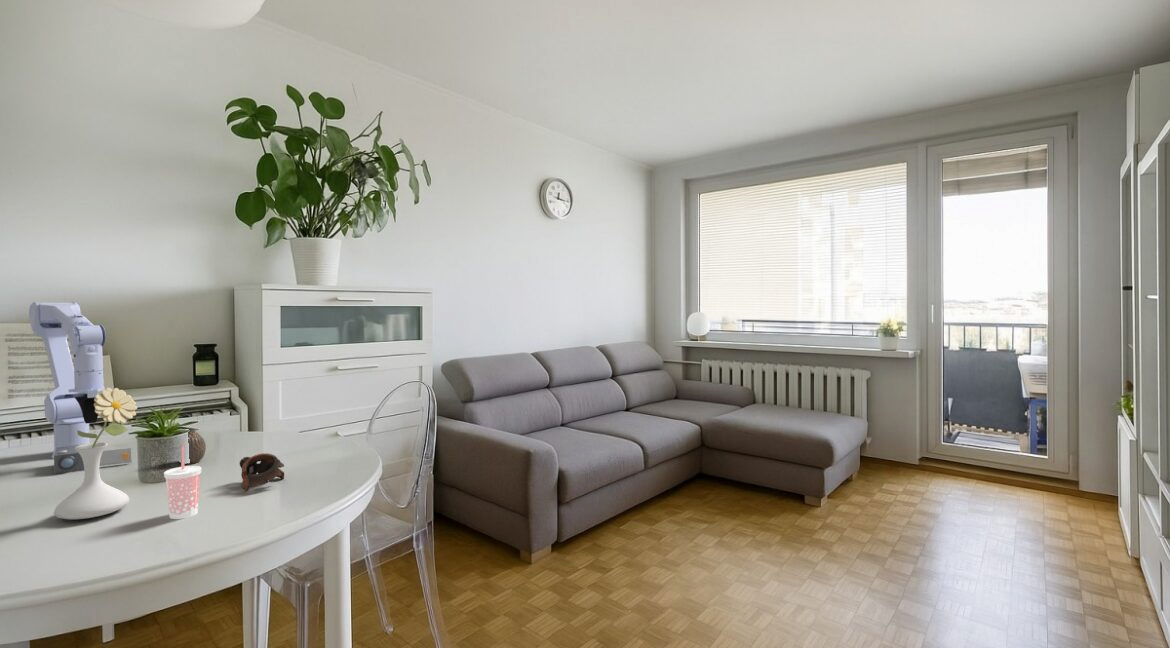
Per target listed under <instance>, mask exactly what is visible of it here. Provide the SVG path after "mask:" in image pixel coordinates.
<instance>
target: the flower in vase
mask: <svg viewBox="0 0 1170 648" xmlns="http://www.w3.org/2000/svg"><path fill="white" fill-rule="evenodd" d="M102 394H103V395H102ZM132 397H133V396H131V395H130V394H127V392H126V391H125V390H124V389H120V388H118V387H115V388H110V387H105V390H102V391H101V393H98V394H97V395H96V396H95V398H94V401H95V402H96V403H94V406H95V413H97V414H98V417H99V418H102V419H103V421H104V424H103V427H102V428H101V430H100V432H99V433H98V434H96V433H90V432H89V433H85V432H81V431H79V430H77V433H78V435H79V436H81V437H86V438H90V439H95V440H94V441H93V442H92V443H91V442H90V444H84V445H79V446H76V447H75V450H76V451H78V452H79V454H80V455H81V457H82V460H83V463H84V470H83V471H84V478H83V481H82V484H81V485H80V486H79V487H78V488H77V489H76V490H75V491H73V492H72V493H71V494H69V495H68V496H67V497H65V498H64V499H63V500H62V501H61V502H59V504H58V505H56V507H55V508H54V511H53V515H54V516H55V517H56V518H58V519H62V520H85V519H91V518H97V517H102V516H104V515H108V514H111V513H114V512H116V511H119V510H120V509H122V508H125V507H126V506H127V505H128V504H129V502H130V497H129V496H128V494H127V493H125V492H123V491H122V490H120V489H118V488H115V487H113V486H112V485H109V484H107V483H105V482H104V481H103V480H102V478H101V475H100V474H101V473H100V466H99V465H100V458H101V455H102V452H103V450H106V447H107V446H109V445H108V443H107V442H98V441H99V439H100V437H101V436H102V434H103V432H104V431H105V432H106V433H107V434H108V435H110V436H113V437H116V436H118V435H122V434H124V433H126V432H127V431H128V430H129V429H128V428H127V427H126V426H124V425H123V424H126V423H127V422H128V419H129V420H131V419H133V417H135V416H137V413H136V411H137V410H138V406H137V403H136V401H135V400H134V399H133V398H132ZM108 422H109V423H111V424H109V425H108V426H107V423H108Z"/></svg>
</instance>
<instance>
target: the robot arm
mask: <svg viewBox="0 0 1170 648" xmlns="http://www.w3.org/2000/svg"><path fill="white" fill-rule="evenodd" d="M28 310H29V311H28V316H29V317H28V318H29V322H30V326H31V330H32V332H33V334H34V335H35V336H37V337H41V339H42V341H43V345H44V347H45V352H46V355H47V359H48V365H49V367H50V372H51V373H50V374H51V376H52V381H53V386H54V389H53V390H52V391H50V392H49V393H48V394H47V395H46V396H45V399H44V401H43V405H44V416H45V419H46V421H47V422H49V423H50V424H53V440H54V441H53V445H54V446H53V447H54V448H53V449H54V450H53V452H52V455H51V459H54V454H55V451H56V448H57V447H65V446H74V445H82V444H90V443H91V442H90V439H91V438H86V437H81V436H79V435H78V433H77V430H79V431H81V432H85V433H90V424H95V423H97V421H98V417H99V414H97V413H95V406H94V403H96V402H95V401H94V398H95V396H96V395H97V394H99V392H102V391H103V390H106V387H105V386H104V385H105V384H104V381H105V380H104V357H103V355H104V354H103V347H104V346H105V345H106V342H107V332H106V328H105V327H104V326H103V324H96V325H94V324H93V322H91V321H90V320H89V319H88V318H87V317H86V316H84V315H83V314H82V312H81V307H80V305H79V304H78V303H77V302H76V301H72V302H45V301H44V302H42V301H41V302H37V301H33V302H31V304H30V305H29V309H28ZM69 346H70V347H69ZM72 356H73V359H72ZM101 394H102V393H101ZM102 395H103V394H102Z"/></svg>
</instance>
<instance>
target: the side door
mask: <svg viewBox="0 0 1170 648" xmlns="http://www.w3.org/2000/svg"><path fill="white" fill-rule="evenodd" d="M132 448H133V447H131V446H130V447H122V448H113V449H104V450H103V452H102V455H101V458H100V465H99V467H104V466H111V465H120V464H122V465H123V464H129V463H132V462H133V459H132V458H133V455H132V454H133V453H132V450H133V449H132Z"/></svg>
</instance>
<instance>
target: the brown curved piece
mask: <svg viewBox="0 0 1170 648" xmlns="http://www.w3.org/2000/svg"><path fill="white" fill-rule="evenodd" d="M258 462H260V463H258ZM239 467H240V469H241V473H240V474H241V479H242V481H241V487H242V490H244V491H245V492H248V491H249V489H250V488H253V487H257V486H262V485H266V484H267V483H268V481H269V482H271V481H272V480H274V479H275V478H279V479H281V480H282V479H283V480H285V471H283V470H282V469H281V468H284V467H285V465H284V463H283V462H281V460H280V459H279V458H278V457H277V456H276V455H275V454H272V453H267V452H266V453H263V452H262V453H258V454H255V455H253V456H245V457H243V458H241V459H240V461H239Z"/></svg>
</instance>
